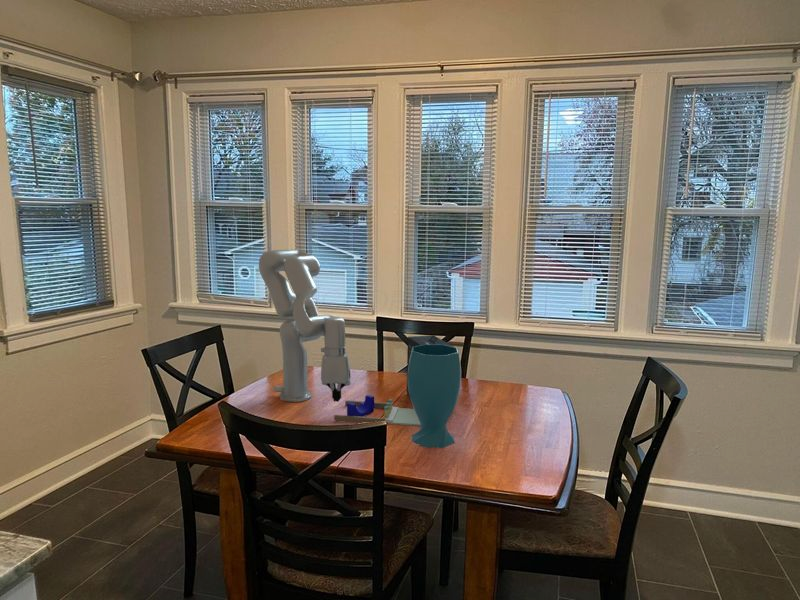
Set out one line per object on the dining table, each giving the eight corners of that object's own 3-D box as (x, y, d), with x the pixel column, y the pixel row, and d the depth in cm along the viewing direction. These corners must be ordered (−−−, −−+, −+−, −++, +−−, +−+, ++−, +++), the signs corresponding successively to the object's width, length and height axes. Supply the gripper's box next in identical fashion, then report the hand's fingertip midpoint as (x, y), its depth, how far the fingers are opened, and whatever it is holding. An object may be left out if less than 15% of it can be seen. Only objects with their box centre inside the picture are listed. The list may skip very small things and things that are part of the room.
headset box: (455, 408, 210) (457, 342, 206) (425, 411, 206) (427, 344, 202) (432, 390, 231) (433, 330, 227) (405, 393, 227) (406, 331, 223)
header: (334, 421, 195) (334, 408, 195) (346, 405, 212) (346, 393, 211) (426, 427, 191) (426, 414, 190) (430, 410, 207) (431, 398, 206)
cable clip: (364, 409, 208) (364, 394, 207) (374, 412, 206) (374, 396, 205) (343, 418, 199) (343, 402, 198) (353, 421, 196) (353, 405, 195)
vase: (407, 428, 190) (408, 343, 185) (457, 429, 189) (460, 344, 185) (406, 449, 173) (407, 355, 168) (461, 450, 172) (464, 356, 168)
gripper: (312, 353, 198) (314, 403, 200) (352, 354, 196) (354, 404, 198) (318, 349, 205) (320, 397, 207) (357, 349, 203) (359, 398, 205)
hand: (336, 400), depth 203 cm, fingers closed
